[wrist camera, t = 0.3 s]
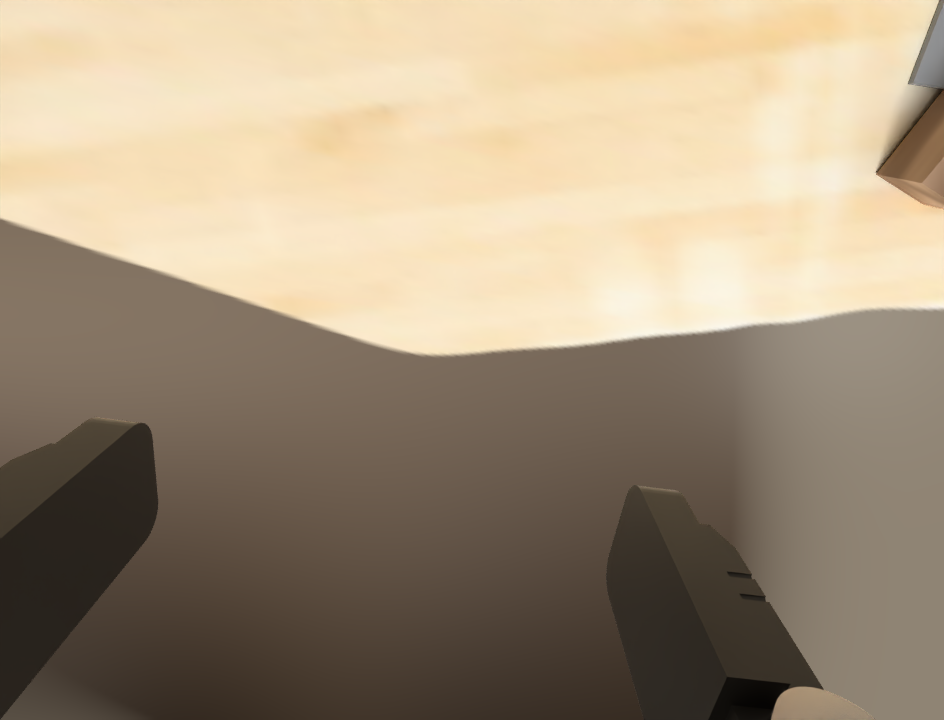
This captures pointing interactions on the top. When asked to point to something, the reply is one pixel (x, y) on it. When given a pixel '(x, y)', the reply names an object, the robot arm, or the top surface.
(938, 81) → the pad
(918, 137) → the walnut block
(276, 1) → the top surface
